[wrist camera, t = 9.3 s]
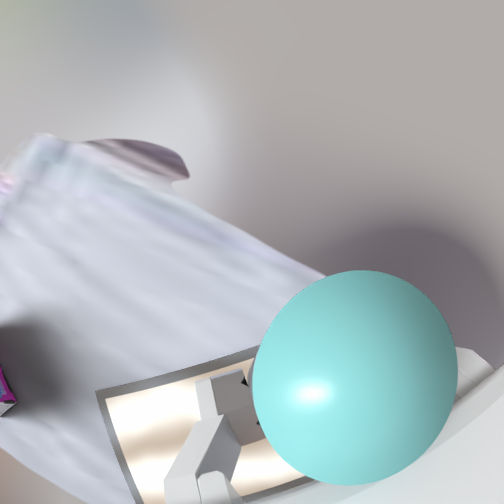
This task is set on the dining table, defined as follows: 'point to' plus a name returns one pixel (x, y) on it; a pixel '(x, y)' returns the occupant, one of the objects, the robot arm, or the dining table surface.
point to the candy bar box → (5, 394)
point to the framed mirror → (182, 433)
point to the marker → (354, 378)
